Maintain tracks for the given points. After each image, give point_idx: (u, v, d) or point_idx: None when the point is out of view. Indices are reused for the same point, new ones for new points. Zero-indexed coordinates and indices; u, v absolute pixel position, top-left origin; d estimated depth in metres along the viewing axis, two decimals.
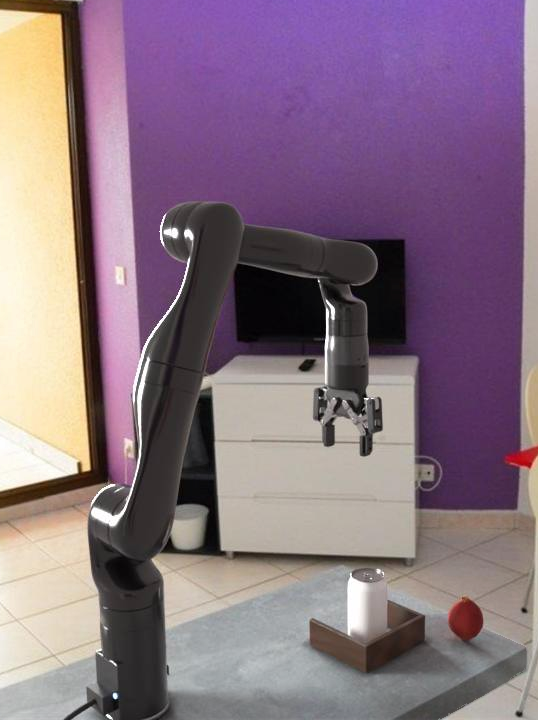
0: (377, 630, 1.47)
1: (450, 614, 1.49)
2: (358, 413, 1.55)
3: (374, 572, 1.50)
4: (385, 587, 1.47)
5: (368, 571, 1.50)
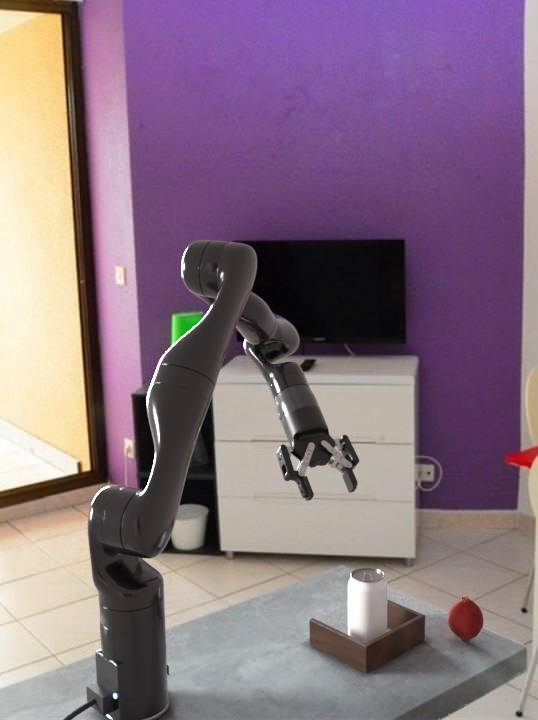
0: (377, 630, 1.47)
1: (450, 614, 1.49)
2: None
3: (373, 572, 1.50)
4: (385, 587, 1.47)
5: (368, 571, 1.50)
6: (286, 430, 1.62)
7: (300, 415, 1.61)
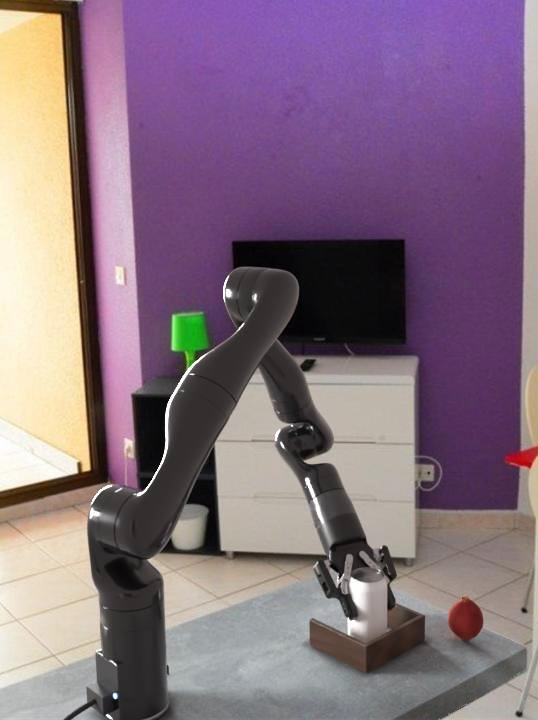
0: (377, 630, 1.47)
1: (450, 614, 1.49)
2: None
3: (373, 572, 1.50)
4: (384, 587, 1.47)
5: (368, 571, 1.50)
6: (322, 539, 1.53)
7: (337, 524, 1.52)
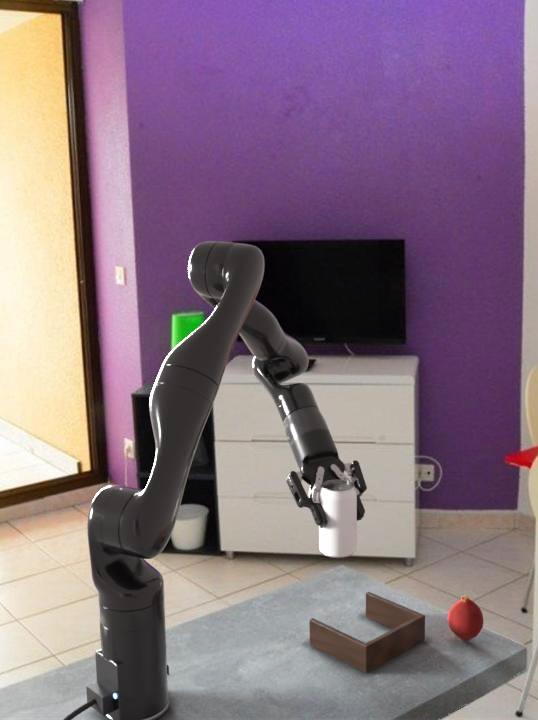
0: (347, 537, 1.53)
1: (450, 614, 1.49)
2: None
3: (344, 483, 1.56)
4: (354, 496, 1.53)
5: (339, 482, 1.56)
6: (295, 453, 1.60)
7: (309, 438, 1.58)
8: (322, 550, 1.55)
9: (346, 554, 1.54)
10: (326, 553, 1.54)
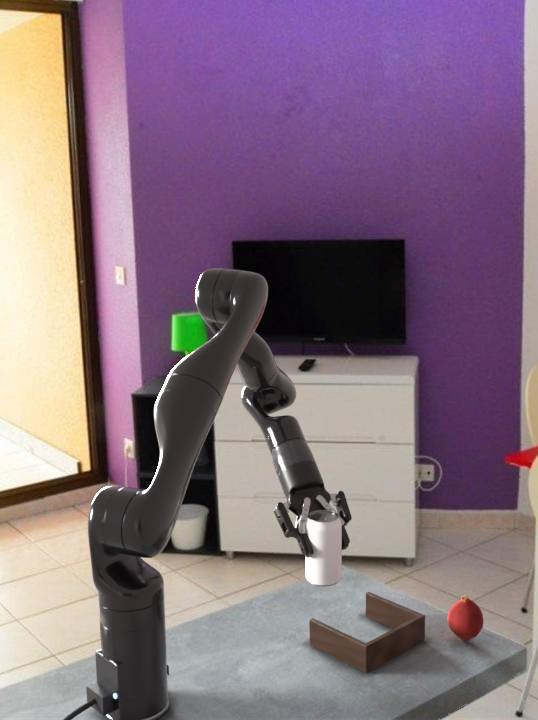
0: (332, 566, 1.59)
1: (450, 614, 1.49)
2: None
3: (329, 514, 1.61)
4: (339, 527, 1.59)
5: (324, 513, 1.62)
6: (282, 484, 1.65)
7: (296, 470, 1.64)
8: (308, 579, 1.60)
9: (331, 583, 1.59)
10: (312, 582, 1.59)
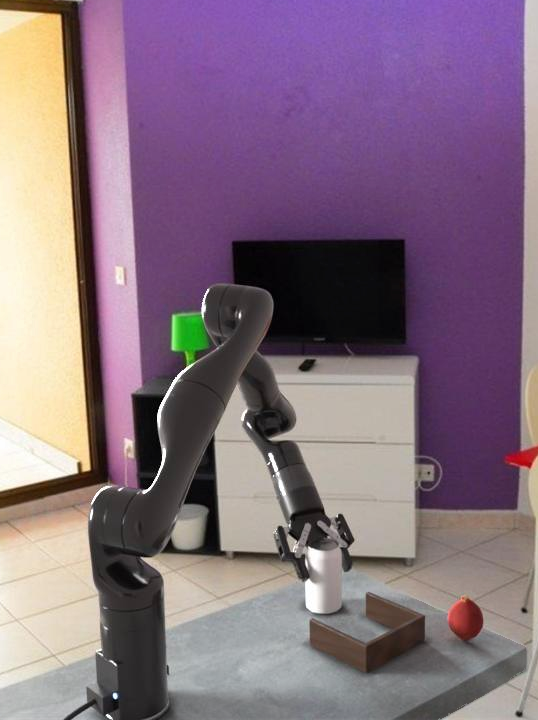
0: (332, 594, 1.59)
1: (450, 614, 1.49)
2: None
3: (329, 542, 1.62)
4: (339, 555, 1.60)
5: (324, 541, 1.63)
6: (283, 510, 1.66)
7: (297, 496, 1.64)
8: (308, 607, 1.61)
9: (331, 611, 1.60)
10: (312, 610, 1.60)
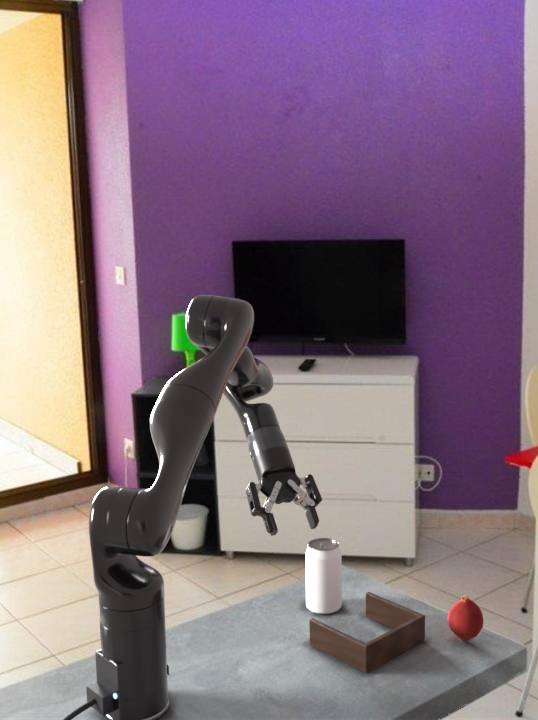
0: (332, 594, 1.59)
1: (450, 614, 1.49)
2: None
3: (329, 542, 1.62)
4: (339, 555, 1.60)
5: (324, 541, 1.63)
6: (256, 468, 1.75)
7: (269, 455, 1.74)
8: (308, 607, 1.61)
9: (331, 611, 1.60)
10: (312, 610, 1.60)
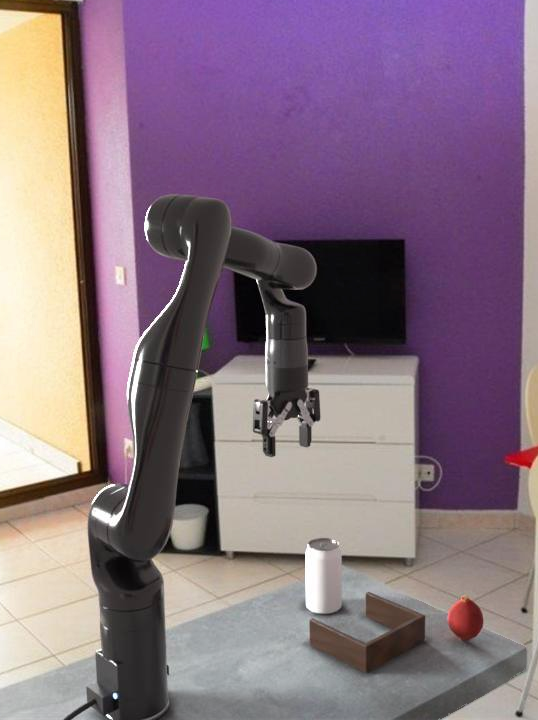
0: (332, 594, 1.59)
1: (450, 614, 1.49)
2: None
3: (329, 542, 1.62)
4: (339, 555, 1.60)
5: (324, 541, 1.63)
6: (270, 378, 1.57)
7: (291, 376, 1.56)
8: (308, 607, 1.61)
9: (331, 611, 1.60)
10: (312, 610, 1.60)
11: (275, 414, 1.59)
